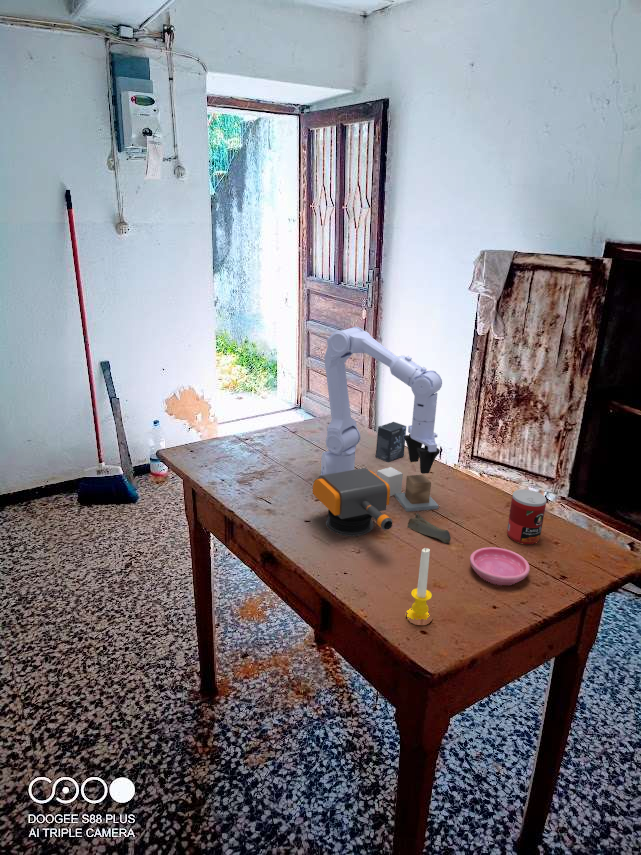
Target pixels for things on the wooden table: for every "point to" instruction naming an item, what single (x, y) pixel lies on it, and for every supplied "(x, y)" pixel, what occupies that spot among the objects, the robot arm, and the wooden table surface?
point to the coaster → (414, 507)
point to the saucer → (499, 565)
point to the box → (390, 441)
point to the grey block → (391, 479)
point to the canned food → (526, 516)
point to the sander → (353, 501)
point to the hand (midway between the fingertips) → (419, 467)
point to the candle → (421, 590)
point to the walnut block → (417, 489)
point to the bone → (428, 529)
